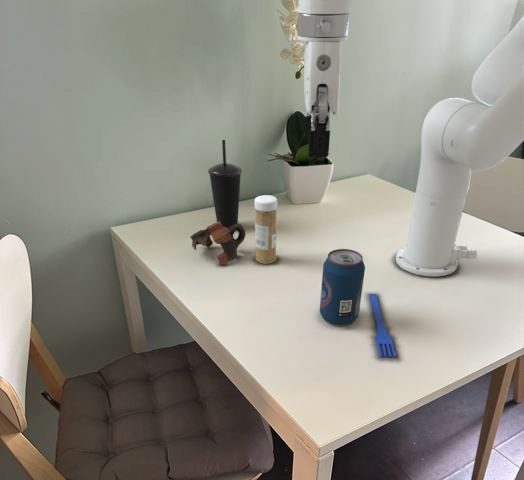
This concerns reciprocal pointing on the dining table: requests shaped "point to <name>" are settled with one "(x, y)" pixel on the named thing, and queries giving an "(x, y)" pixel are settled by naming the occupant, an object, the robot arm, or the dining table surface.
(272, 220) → the sprinkles bottle
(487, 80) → the robot arm
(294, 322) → the dining table surface
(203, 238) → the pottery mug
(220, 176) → the drinking cup
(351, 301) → the soda can
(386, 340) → the blue fork
